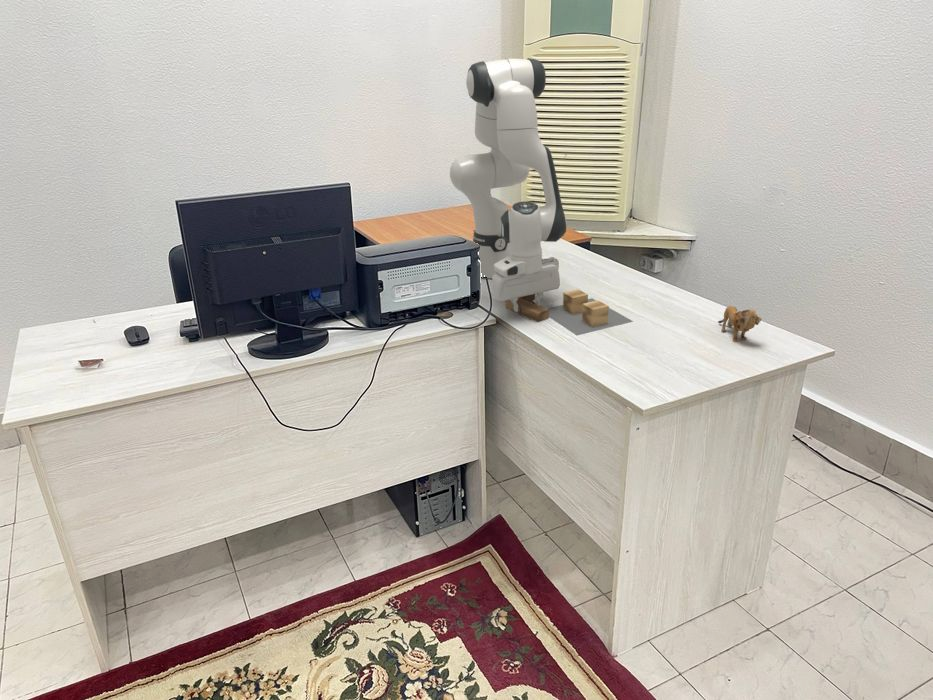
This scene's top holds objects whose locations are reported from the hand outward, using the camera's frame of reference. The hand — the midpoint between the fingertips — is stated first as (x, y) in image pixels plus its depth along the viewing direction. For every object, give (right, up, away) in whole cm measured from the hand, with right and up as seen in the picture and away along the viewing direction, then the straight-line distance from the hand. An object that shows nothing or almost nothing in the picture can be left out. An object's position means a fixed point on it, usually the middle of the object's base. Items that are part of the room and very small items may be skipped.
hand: (526, 308), depth 193 cm
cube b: (+18, -4, -7) cm, 20 cm away
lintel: (0, -2, +1) cm, 2 cm away
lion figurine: (+52, -8, -19) cm, 56 cm away
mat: (+16, -2, -3) cm, 16 cm away
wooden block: (0, +4, +12) cm, 12 cm away
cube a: (+14, 0, +1) cm, 14 cm away
